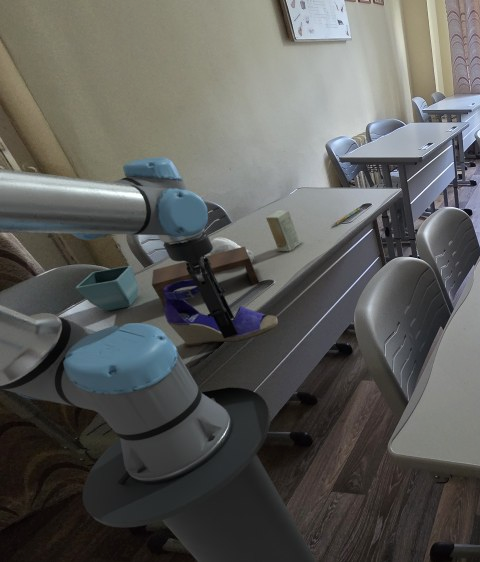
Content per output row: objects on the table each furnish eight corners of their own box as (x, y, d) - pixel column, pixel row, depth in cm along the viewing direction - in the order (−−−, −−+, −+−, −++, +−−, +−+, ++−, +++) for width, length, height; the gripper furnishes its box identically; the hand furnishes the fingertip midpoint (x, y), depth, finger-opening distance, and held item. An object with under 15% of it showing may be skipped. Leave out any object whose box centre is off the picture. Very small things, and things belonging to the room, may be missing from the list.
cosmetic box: (289, 243, 138) (277, 209, 131) (300, 243, 137) (289, 209, 131) (277, 251, 132) (264, 217, 126) (289, 252, 132) (277, 217, 125)
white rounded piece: (217, 233, 124) (254, 236, 124) (225, 257, 129) (261, 260, 128) (202, 242, 119) (241, 245, 118) (212, 267, 123) (249, 270, 123)
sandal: (272, 336, 92) (248, 281, 84) (177, 352, 89) (144, 296, 81) (281, 316, 99) (259, 264, 91) (193, 330, 96) (163, 276, 88)
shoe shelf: (166, 310, 104) (151, 284, 100) (167, 294, 111) (153, 269, 107) (259, 282, 115) (249, 258, 110) (254, 269, 122) (244, 246, 118)
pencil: (334, 227, 148) (360, 210, 163) (333, 224, 148) (360, 207, 162) (331, 227, 148) (358, 210, 163) (330, 224, 148) (357, 207, 163)
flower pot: (94, 317, 103) (73, 287, 98) (110, 299, 110) (92, 271, 106) (134, 309, 105) (116, 280, 101) (147, 293, 112) (131, 265, 108)
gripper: (208, 247, 76) (253, 342, 87) (203, 218, 90) (242, 303, 102) (160, 259, 72) (213, 356, 84) (163, 227, 86) (208, 314, 98)
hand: (229, 327), depth 93 cm, fingers open, 7 cm apart
